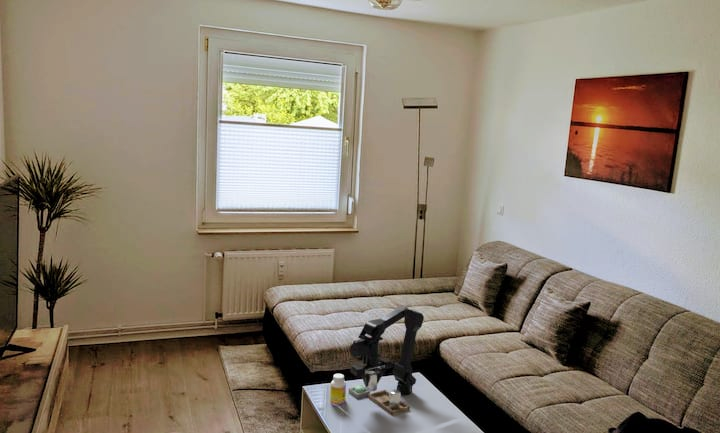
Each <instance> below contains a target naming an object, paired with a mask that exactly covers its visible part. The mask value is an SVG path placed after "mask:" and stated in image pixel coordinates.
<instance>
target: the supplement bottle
mask: <svg viewBox="0 0 720 433" xmlns="http://www.w3.org/2000/svg"><path fill="white" fill-rule="evenodd" d="M346 389H347V382H346V381H345V375H344V374H342V373H335V374H333V377H332V381H331V382H330V397H329V398H330V399H329V402H330V405H332V406H336V407H339V405H344V404H345V403H346V394H347V393H346V392H347V390H346Z"/></svg>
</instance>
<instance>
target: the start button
mask: <svg viewBox="0 0 720 433" xmlns="http://www.w3.org/2000/svg"><path fill="white" fill-rule="evenodd" d="M363 386H364V385H362V386H360V385H355V386H354V387H355V392H357V393H361V392H364V387H365V386H364V387H363Z"/></svg>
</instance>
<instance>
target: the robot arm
mask: <svg viewBox="0 0 720 433" xmlns="http://www.w3.org/2000/svg"><path fill="white" fill-rule="evenodd" d="M424 318H425V317H424V315H423V313H421V312H420V311H416V310H413V309H409V308H408V307H406V306H404V305H399V306H397V308H395V309H394V310H392V311H391V312H388V313H387V314H385V315H383V316H382V317H380V318H378V319H377V318H376V319H371V320H369V321H366V323H365V324H364V326H363V328H362V329H361V331H360V333H359V336H358V339H357V340H353V342H352V344H350V347H349V352H350V355H351V356H352V357H353V358H354V361H355V362H358V363H361V364H362V365H363V366H362V365H360V364H354V365H352V366H351V367H350V369H349V370H350V371H349V372H350V373H351V374H353V375H354V376H355V377H357V378H360V377H361V378H362V381H363V383H364V387H365V388H366V387H367V386H368V381H369V374H368V373H367V372H368V371H371V370H373V369H374V371H375V372H377V385H378V384H379V382H380V380H381V379H382V377H383V375H384V374H385V372H387V371H388V370H387V369H391V368H393V369H392V375H393V377H394V380H396V381H397V385H396V390H398V391H400V392H401V396H409V395H411V394H412V393H413V386H414V385H415V384H417V383H416V382H417V378H416V377H415V376H413V366H412V358H413V352H414V347H415V343H416V338H417V333H418V331H419V330H420V329H421V328H422V326H423V323H424V320H425V319H424ZM402 319H404V320H403V321H404V326H405V334H404V338H403V341H402V342H403V343H402V348H401V353H400V357H399V360H398V362H395V363H393V361H392V360H391V359H390V358H388V357H382V355H381V353H380V341H383V340H384V338H383V337H382V335H383V334H384V333H385V331H386V330H387V329H388V328H389V327H391V326H393V325H394V324H395V323H397V322H399V321H401V320H402ZM369 336H370V337H369Z"/></svg>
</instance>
